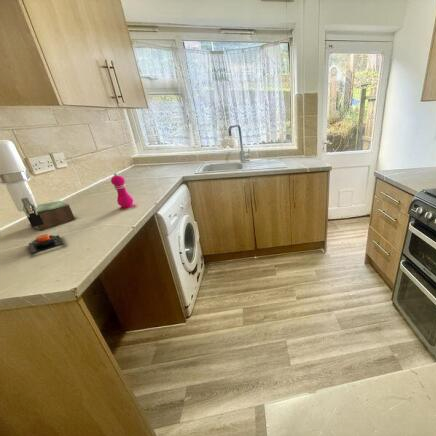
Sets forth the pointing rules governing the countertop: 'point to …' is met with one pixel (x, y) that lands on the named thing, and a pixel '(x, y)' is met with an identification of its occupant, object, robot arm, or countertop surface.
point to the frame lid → (50, 206)
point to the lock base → (45, 244)
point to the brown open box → (55, 217)
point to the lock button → (43, 238)
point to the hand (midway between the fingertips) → (38, 225)
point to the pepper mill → (122, 192)
